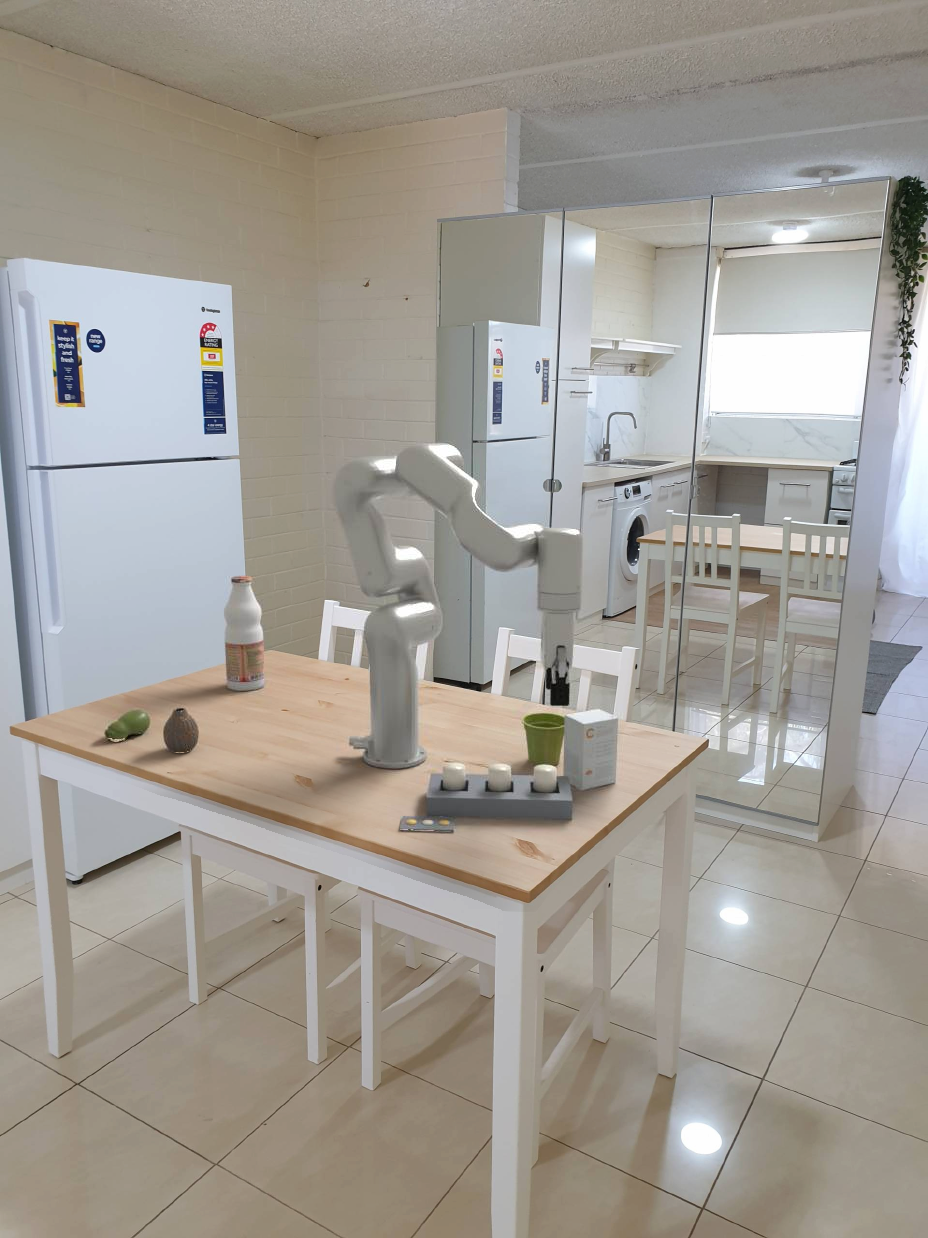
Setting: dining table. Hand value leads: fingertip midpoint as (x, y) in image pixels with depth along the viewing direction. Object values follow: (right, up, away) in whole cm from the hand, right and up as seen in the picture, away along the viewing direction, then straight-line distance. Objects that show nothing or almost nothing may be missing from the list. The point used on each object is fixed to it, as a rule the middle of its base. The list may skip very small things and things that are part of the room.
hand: (557, 697), depth 164 cm
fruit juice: (-71, -4, +73) cm, 102 cm away
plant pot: (0, -15, +24) cm, 28 cm away
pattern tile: (-22, -21, -6) cm, 31 cm away
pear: (-88, -12, +36) cm, 96 cm away
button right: (-2, -16, +2) cm, 16 cm away
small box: (+7, -17, +14) cm, 23 cm away
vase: (-74, -13, +28) cm, 80 cm away
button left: (-18, -16, +2) cm, 24 cm away
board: (-10, -19, +3) cm, 22 cm away
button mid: (-10, -16, +2) cm, 19 cm away
